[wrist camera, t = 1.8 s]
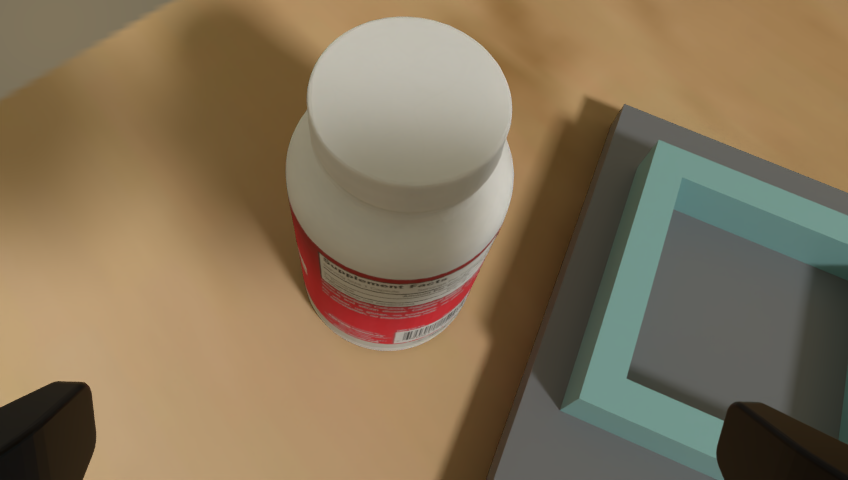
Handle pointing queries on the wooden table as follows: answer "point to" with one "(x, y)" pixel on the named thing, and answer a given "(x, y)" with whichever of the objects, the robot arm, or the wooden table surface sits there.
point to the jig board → (682, 312)
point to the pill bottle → (399, 178)
